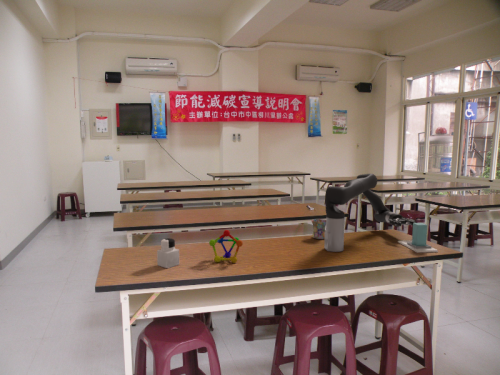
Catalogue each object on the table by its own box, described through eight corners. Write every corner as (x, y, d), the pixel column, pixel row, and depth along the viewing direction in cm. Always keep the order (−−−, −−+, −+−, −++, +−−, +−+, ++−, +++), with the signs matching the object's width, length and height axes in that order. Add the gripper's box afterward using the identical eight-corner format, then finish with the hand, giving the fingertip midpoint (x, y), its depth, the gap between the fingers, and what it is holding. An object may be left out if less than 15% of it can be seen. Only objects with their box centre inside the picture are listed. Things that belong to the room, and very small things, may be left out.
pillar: (416, 247, 184) (418, 225, 182) (411, 244, 188) (413, 223, 187) (426, 247, 184) (427, 224, 183) (420, 244, 189) (421, 223, 188)
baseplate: (417, 252, 178) (417, 248, 178) (397, 242, 198) (398, 238, 198) (437, 252, 179) (438, 248, 178) (416, 241, 199) (416, 238, 198)
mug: (329, 239, 205) (330, 221, 204) (315, 240, 202) (316, 222, 201) (319, 234, 216) (319, 217, 215) (306, 235, 213) (306, 218, 212)
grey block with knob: (169, 261, 164) (169, 236, 162) (179, 264, 159) (179, 239, 158) (157, 265, 158) (156, 239, 157) (167, 268, 154) (166, 242, 152)
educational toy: (238, 257, 174) (241, 227, 172) (241, 265, 161) (244, 234, 159) (207, 255, 172) (210, 225, 170) (207, 263, 159) (210, 231, 157)
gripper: (383, 213, 211) (396, 217, 195) (405, 212, 212) (420, 217, 196) (382, 225, 212) (395, 231, 196) (405, 225, 213) (419, 230, 197)
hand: (408, 224), depth 196 cm, fingers open, 8 cm apart
